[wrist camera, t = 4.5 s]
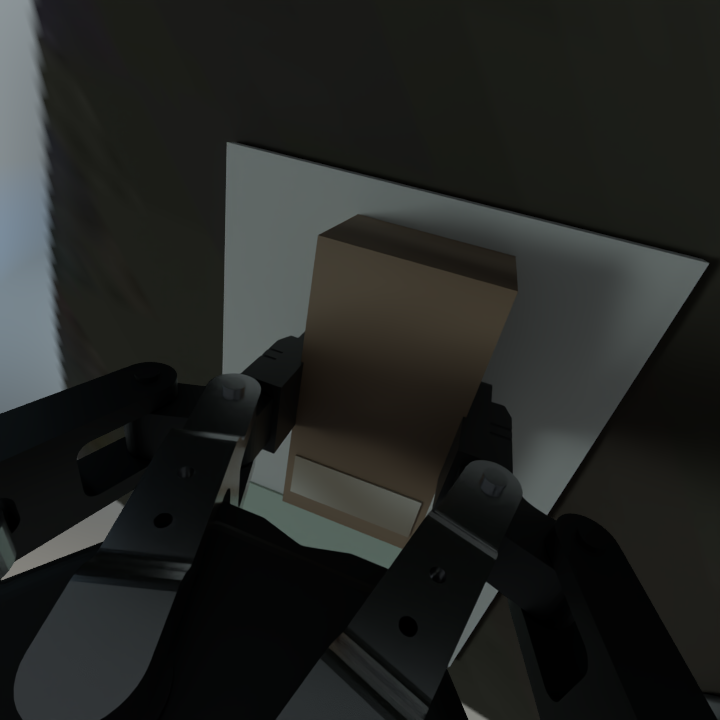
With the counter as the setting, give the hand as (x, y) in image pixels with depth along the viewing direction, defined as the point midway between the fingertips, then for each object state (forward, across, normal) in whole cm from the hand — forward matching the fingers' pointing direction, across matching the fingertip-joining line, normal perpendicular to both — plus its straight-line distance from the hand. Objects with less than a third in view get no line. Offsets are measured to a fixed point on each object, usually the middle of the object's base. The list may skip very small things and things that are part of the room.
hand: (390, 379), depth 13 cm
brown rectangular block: (+1, 0, 0) cm, 1 cm away
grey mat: (+1, 0, +5) cm, 5 cm away
